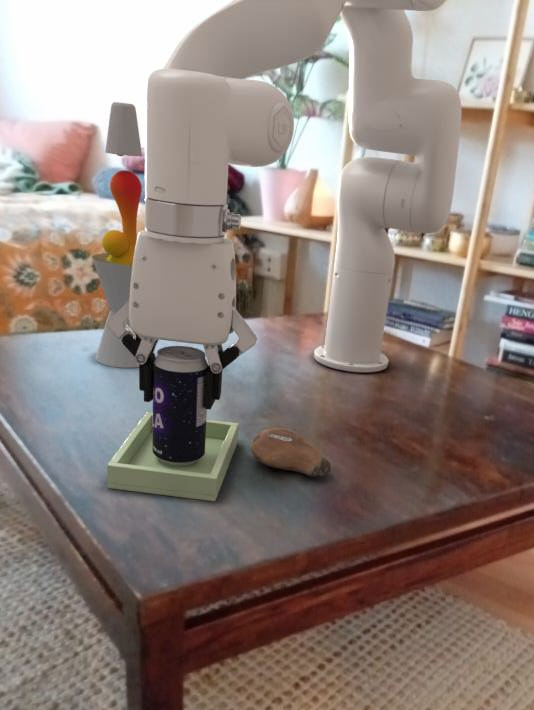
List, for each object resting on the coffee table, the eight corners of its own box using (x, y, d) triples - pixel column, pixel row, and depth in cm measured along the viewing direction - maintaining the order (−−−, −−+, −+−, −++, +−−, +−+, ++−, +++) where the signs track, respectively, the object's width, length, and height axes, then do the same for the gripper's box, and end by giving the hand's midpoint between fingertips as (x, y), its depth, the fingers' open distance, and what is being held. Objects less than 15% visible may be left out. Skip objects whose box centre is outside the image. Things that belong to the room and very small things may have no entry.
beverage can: (178, 443, 81) (180, 341, 75) (215, 459, 78) (220, 354, 73) (141, 457, 77) (141, 350, 71) (179, 475, 74) (182, 365, 68)
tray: (146, 432, 84) (146, 411, 83) (237, 443, 84) (238, 423, 83) (107, 488, 71) (107, 465, 70) (215, 501, 71) (216, 478, 70)
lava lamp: (132, 347, 114) (132, 104, 99) (166, 362, 109) (171, 108, 93) (82, 354, 108) (74, 97, 92) (115, 371, 103) (112, 101, 87)
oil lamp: (265, 493, 75) (333, 488, 78) (270, 462, 73) (340, 458, 76) (242, 449, 82) (305, 446, 85) (246, 419, 80) (311, 416, 83)
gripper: (279, 227, 69) (264, 399, 78) (108, 207, 70) (111, 380, 78) (271, 237, 63) (256, 424, 71) (82, 215, 63) (88, 403, 71)
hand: (180, 399), depth 74 cm, fingers closed on beverage can, 5 cm apart
